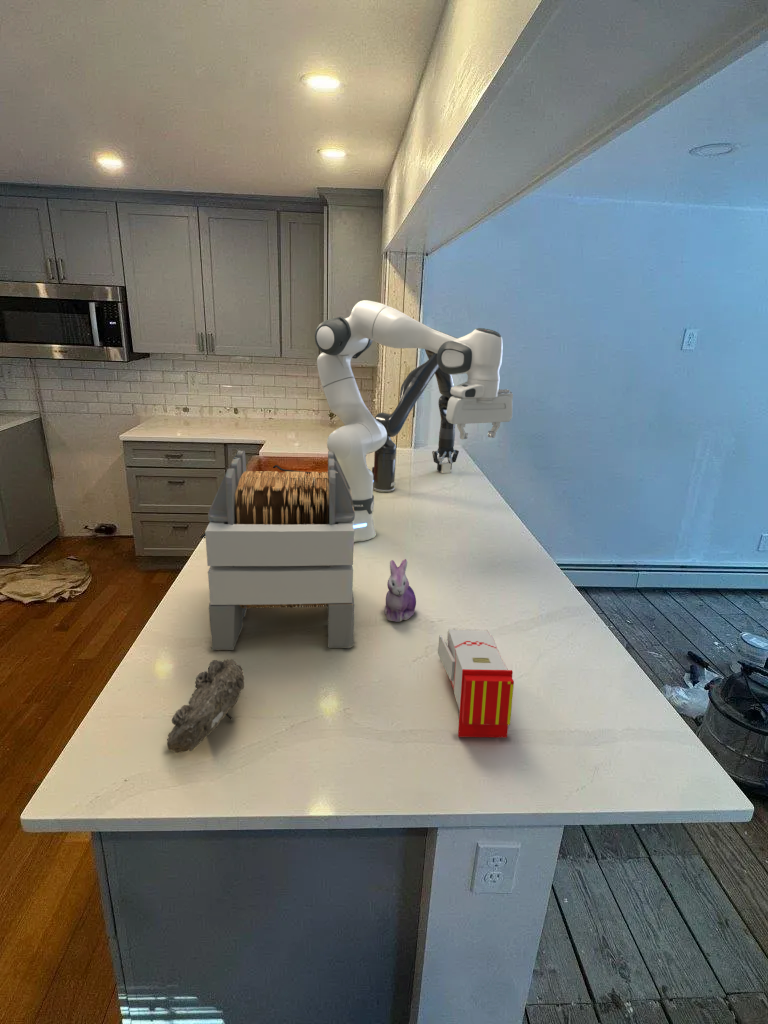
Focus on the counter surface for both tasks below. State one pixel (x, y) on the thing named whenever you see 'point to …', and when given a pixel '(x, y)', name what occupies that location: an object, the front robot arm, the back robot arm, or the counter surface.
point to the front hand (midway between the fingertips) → (477, 438)
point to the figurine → (399, 594)
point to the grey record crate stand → (280, 548)
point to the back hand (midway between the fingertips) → (444, 470)
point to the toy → (478, 682)
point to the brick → (445, 467)
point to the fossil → (206, 705)
